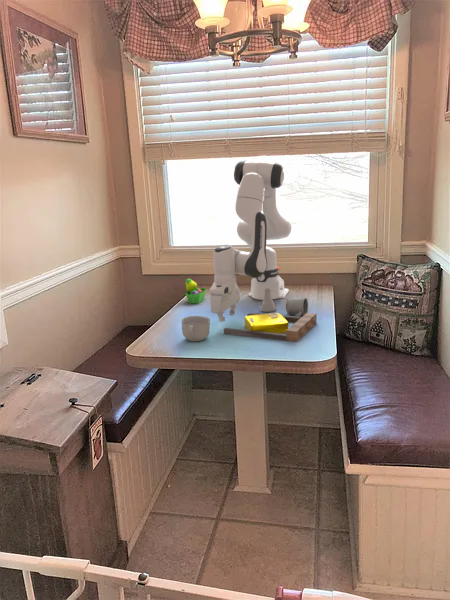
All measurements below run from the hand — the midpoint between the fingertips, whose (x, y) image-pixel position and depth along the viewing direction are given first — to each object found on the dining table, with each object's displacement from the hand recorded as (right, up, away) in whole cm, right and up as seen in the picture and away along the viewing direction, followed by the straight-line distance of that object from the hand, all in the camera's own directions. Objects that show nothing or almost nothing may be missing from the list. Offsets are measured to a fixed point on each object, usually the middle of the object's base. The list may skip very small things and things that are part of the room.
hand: (227, 318), depth 212 cm
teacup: (-12, -8, -17) cm, 22 cm away
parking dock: (+17, -4, -8) cm, 20 cm away
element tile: (+16, -4, -8) cm, 18 cm away
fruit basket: (-15, +7, +40) cm, 44 cm away
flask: (+18, +3, +17) cm, 26 cm away
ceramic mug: (+30, 0, +7) cm, 30 cm away
